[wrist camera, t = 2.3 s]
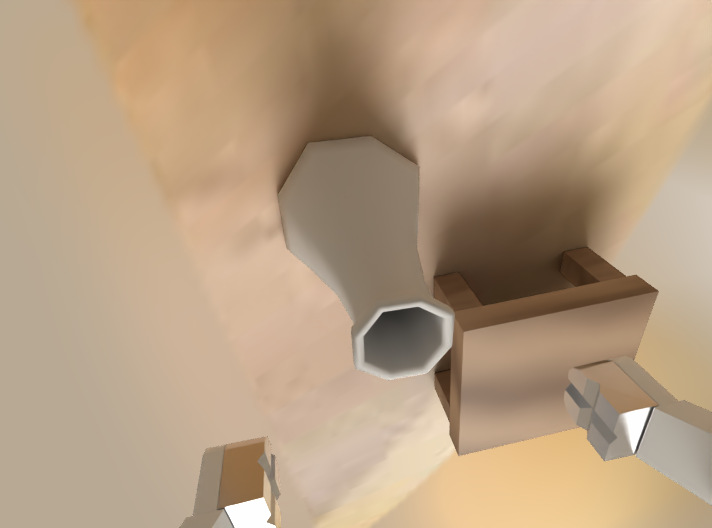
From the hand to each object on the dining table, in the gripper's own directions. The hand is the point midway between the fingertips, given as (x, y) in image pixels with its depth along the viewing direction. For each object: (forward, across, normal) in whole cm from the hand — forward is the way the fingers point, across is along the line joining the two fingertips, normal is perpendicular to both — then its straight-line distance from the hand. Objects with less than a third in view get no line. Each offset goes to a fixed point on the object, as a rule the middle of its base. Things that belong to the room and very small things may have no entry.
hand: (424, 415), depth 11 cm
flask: (+12, 0, -1) cm, 12 cm away
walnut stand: (+12, -9, +9) cm, 18 cm away
